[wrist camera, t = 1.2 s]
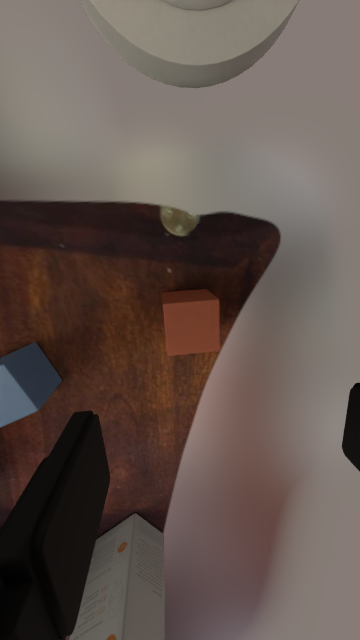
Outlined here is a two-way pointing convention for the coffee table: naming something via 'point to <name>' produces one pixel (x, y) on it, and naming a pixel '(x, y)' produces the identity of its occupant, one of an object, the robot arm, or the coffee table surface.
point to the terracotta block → (191, 322)
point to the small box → (124, 585)
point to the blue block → (25, 383)
